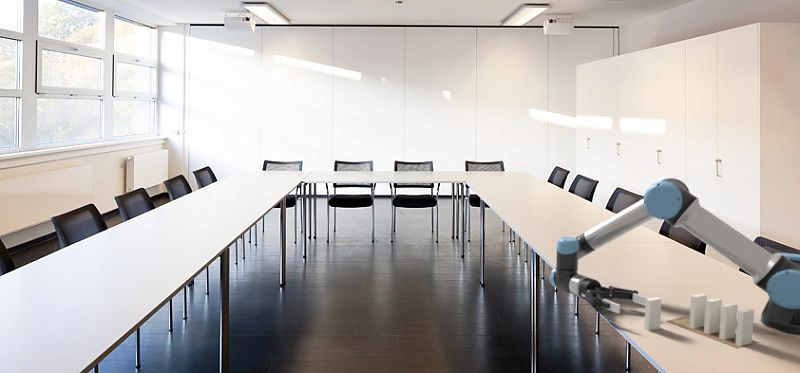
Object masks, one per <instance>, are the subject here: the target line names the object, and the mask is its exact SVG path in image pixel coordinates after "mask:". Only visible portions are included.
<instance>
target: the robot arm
mask: <svg viewBox="0 0 800 373" xmlns="http://www.w3.org/2000/svg"><path fill="white" fill-rule="evenodd" d="M653 219H658V220H663V221H664V222H667V224H669V225H671V227H673V228H683V229H685V230H686V231H688V232H689V233H690V234H692V235H693V236H694V237H695V238H697V239H699V241H702V242H703V243H704V244H706V245H707V246H709V247H710V248H712V249H713V250H714V251H716V252H717V253H719V254H720V255H721V256H723V257H725V258H726V259H727V260H728V261H730V262H731V263H732V264H734V265H736V266H737V267H739V268H740V269H741V270H742V271H744V272H745V273H747V274H749V275H750V276H751V277H752V282H753V284H754V285H755V286H757V287H758V288H759V289H761V290H762V291H763V292H765V293H766V294H767V296H768V300H767V302H766V304H765V306H764V307H763V310H762V312H761V315H760V322H761V323H762V324H763V325H764V326H766V327H769V328H771V329H774V330H777V331H781V332H786V333H789V334H790V333H792V334H798V335H800V254H797V253H788V252H776V253H775V252H774V254H772V253H770V252H769V251H768V250H767V249H765V248H763V247H762V246H761V245H759V244H757V243H756V242H754V240H751V239H750V238H749V237H747V236H745V235H744V234H742V233H741V232H740V231H738V230H737V229H735V228H734V227H733V226H731V225H729V224H728V223H727V222H726V221H723V220H722V219H720V218H718V217H717V216H716V215H715V214H713V213H712V212H710V211H709V210H707V209H706V208H704V207H703V206H701V205H700V199H699V197H697V196H695V195H693V194H692V193H691V192H690V189H689V188H688V185H686V184H685V182H684V181H682V180H680V179H678V178H673V177H672V178H664V179H662V180H659V181H657V182H656V181H655V182H654V183H652V184H651V185H650V186H649V187H648V189H646V191H645V193H644V195H643V198H642V199H640V200H638V201H636V202H635V203H633V204H631V205H630V206H628V207H626V208H624V209H623V210H621V211H620V212H617V213H615V214H614V215H612V216H610V217H609V218H607V219H606V220H603V221H602V222H600V223H599V224H596V225H595V226H594V227H592V228H590V229H589V230H586V231H585V232H583V233H581V234H579V235H578V236H576V237H572V236H564V237H563V236H561V237H559V238H558V239H557V241H556V242H557V243H556V265H555V267H554V268H553V269H552V270H551V271H550V274H549V278H548V279H549V283H550V284H551V285H552V287H554V288H556V289H558V290H560V291H564V292H566V293H569V294H571V295H574V296H576V297H578V298H579V299H580V298H581V299H582V300H585V302H587V304H588V305H590V306H591V307H592V308H597V310H602V308H603V309H605V310H608V311H609V312H613V313H616V314H620V312H621V304H619V303H617V302H613V301H611V300H614V299H619V300H620V299H621V300H626V301H627V300H628V301H632V302H633V303H636V304H639V305H642V306H644V307H646V299H651V298H650V297H647V296H643V295H641V294H639V291H637V290H635V289H633V290H631V289H628V288H623V287H622V288H621V287H617V286H613V285H609V286H608V287H606V286H602V284H601V283H600V281H599V280H597V279H594V278H591V277H588V276H585V275H582V274H579V273H578V270H579V269H578V268H579V260H581V259H582V258H583V257H586V256H587V255H589V254H591V253H593V252H595V251H596V250H598V249H600V248H602V247H603V246H605V245H607V244H609V243H611V242H612V241H614V240H616V239H617V238H620V237H622V236H623V235H625V234H627V233H629V232H631V231H633V230H634V229H636V228H638V227H640V226H642V225H643V224H645V223H647V222H649V221H651V220H653Z"/></svg>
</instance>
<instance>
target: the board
mask: <svg viewBox="0 0 800 373" xmlns="http://www.w3.org/2000/svg"><path fill="white" fill-rule="evenodd" d="M665 322H666V323H668V324H671V325H674V326H677V327H678V328H682V329H683V330H684V329H685V330H688V331H689V332H693V333H695V334H698V335H701V336H703V337H706V338H708V339H711V340H714V341H716V342H719V343H722V344H724V345H727V346H729V347H732V348H735V349H737V350H738V349H740V348H745V347H748V346H753V345H755V344H760V342H759V341H756V340H754V339H752V343H750V344H746V345H743V346H739V345H737V344H735V343H736V333H735V337H733V338H730V339H726V340H723V339H720V338H719V334H720V330H719V332H715V333H711V334H707V333H704V326H702V327H698V328H691V327H689V322H690V316H682V317H677V318H673V319H670V320H665Z"/></svg>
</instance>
